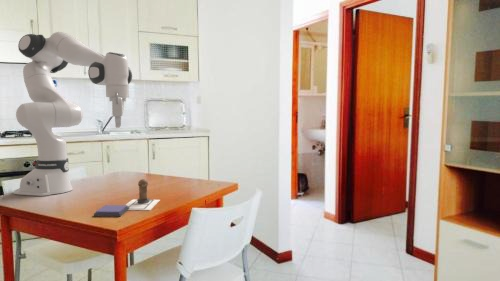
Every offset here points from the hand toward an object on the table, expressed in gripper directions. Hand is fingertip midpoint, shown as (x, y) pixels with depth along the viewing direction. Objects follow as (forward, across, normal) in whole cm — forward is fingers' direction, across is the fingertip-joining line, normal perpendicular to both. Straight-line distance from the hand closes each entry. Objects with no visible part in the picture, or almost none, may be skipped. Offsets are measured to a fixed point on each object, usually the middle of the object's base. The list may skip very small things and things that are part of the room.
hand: (118, 126), depth 146 cm
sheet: (+29, -18, -8) cm, 35 cm away
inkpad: (+29, -25, +2) cm, 38 cm away
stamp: (+28, -14, -9) cm, 33 cm away
